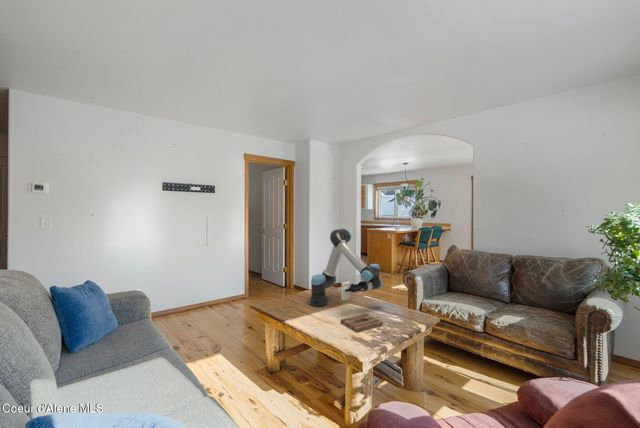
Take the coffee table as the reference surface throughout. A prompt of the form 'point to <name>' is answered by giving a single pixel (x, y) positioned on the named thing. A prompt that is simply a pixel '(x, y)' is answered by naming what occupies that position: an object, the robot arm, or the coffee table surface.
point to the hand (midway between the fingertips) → (339, 290)
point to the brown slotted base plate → (357, 326)
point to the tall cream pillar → (346, 294)
